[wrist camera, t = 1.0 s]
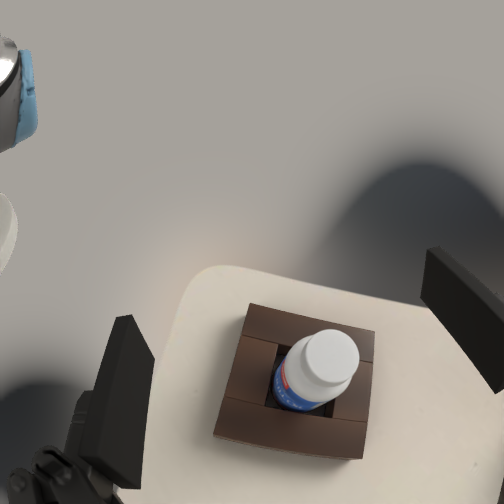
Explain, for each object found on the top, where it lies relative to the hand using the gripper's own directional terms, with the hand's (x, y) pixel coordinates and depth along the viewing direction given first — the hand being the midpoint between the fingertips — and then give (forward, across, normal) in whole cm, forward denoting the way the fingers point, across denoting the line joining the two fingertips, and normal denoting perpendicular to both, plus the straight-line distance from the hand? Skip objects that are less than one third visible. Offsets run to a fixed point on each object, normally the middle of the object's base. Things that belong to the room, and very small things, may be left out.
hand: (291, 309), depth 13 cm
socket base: (+8, +1, -16) cm, 18 cm away
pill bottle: (+8, +1, -17) cm, 19 cm away
